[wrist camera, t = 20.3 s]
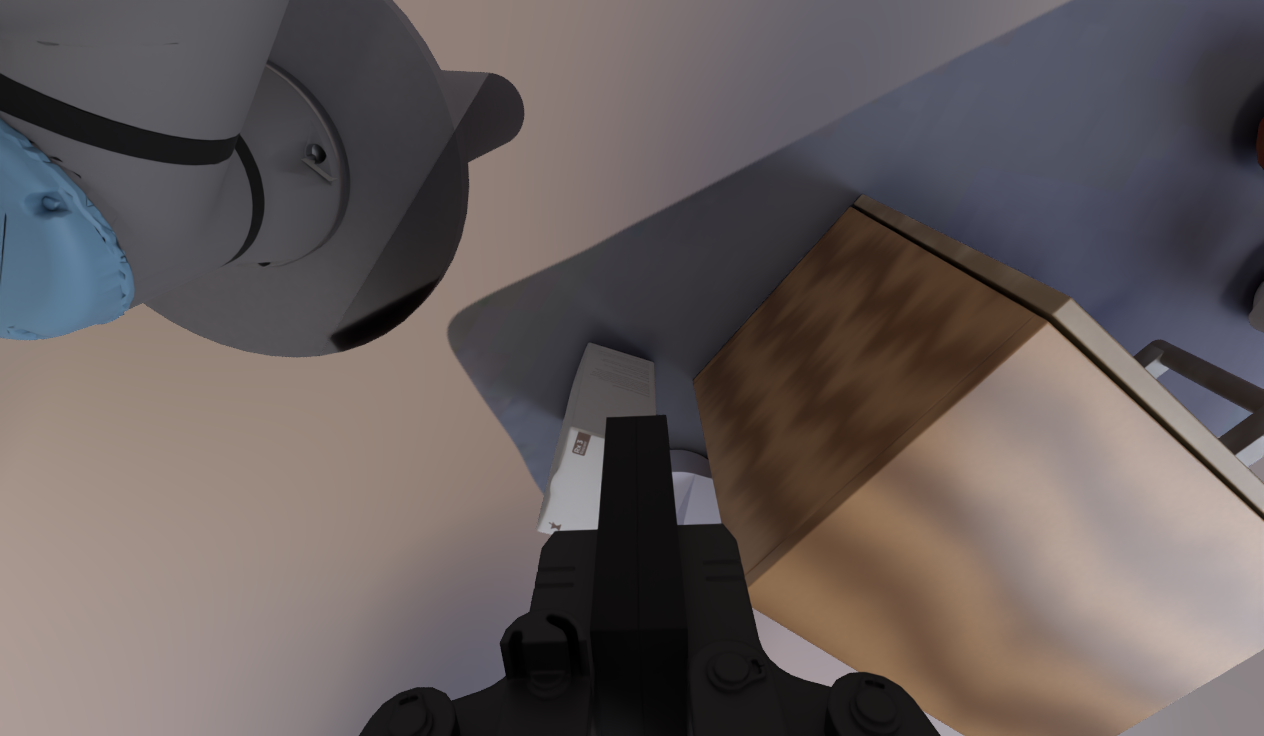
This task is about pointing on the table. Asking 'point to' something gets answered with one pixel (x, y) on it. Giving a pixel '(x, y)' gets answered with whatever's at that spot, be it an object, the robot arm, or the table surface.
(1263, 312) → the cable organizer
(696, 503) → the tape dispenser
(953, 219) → the table surface
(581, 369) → the cosmetic box
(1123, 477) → the cupboard
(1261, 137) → the fruit
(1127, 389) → the cupboard door
